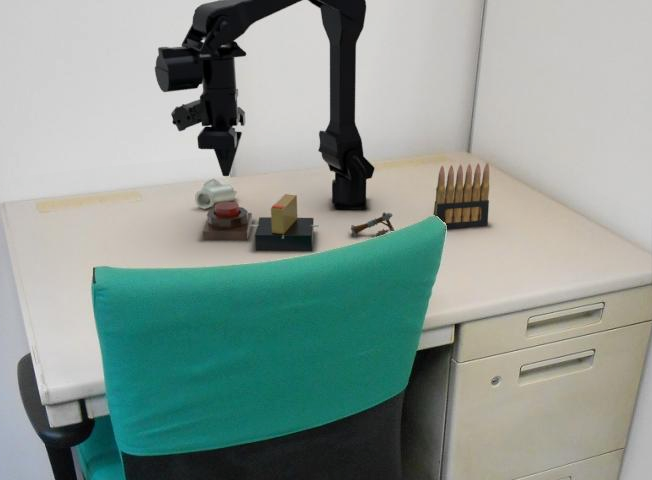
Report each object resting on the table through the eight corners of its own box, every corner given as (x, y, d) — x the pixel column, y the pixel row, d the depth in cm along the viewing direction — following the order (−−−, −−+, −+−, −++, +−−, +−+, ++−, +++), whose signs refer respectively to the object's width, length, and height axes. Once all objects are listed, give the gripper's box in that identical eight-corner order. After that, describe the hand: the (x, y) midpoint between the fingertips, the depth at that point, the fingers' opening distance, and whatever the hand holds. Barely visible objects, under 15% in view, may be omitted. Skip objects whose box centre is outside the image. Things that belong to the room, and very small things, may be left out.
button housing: (252, 221, 161) (251, 203, 159) (247, 240, 153) (246, 222, 151) (210, 220, 161) (209, 203, 159) (203, 240, 153) (201, 221, 151)
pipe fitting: (237, 199, 173) (205, 195, 173) (238, 181, 171) (205, 177, 171) (228, 212, 166) (195, 208, 166) (228, 193, 164) (195, 189, 164)
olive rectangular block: (286, 217, 155) (285, 192, 152) (297, 218, 154) (296, 193, 152) (271, 232, 148) (270, 207, 145) (283, 234, 148) (282, 208, 145)
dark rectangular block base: (319, 230, 158) (319, 213, 156) (318, 254, 148) (317, 237, 146) (255, 229, 158) (254, 213, 156) (248, 254, 147) (247, 237, 146)
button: (240, 210, 157) (240, 201, 156) (238, 218, 154) (237, 209, 153) (217, 210, 157) (216, 201, 156) (214, 218, 153) (213, 209, 153)
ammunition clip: (484, 222, 163) (490, 161, 156) (487, 226, 161) (493, 164, 155) (432, 226, 160) (435, 164, 154) (435, 230, 159) (439, 167, 152)
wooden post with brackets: (399, 233, 154) (390, 211, 152) (359, 248, 156) (350, 227, 154) (399, 230, 156) (390, 208, 154) (360, 245, 158) (351, 224, 156)
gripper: (181, 74, 151) (189, 160, 159) (162, 97, 135) (172, 191, 144) (243, 74, 151) (248, 160, 160) (231, 98, 136) (237, 192, 144)
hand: (226, 175), depth 152 cm, fingers closed
